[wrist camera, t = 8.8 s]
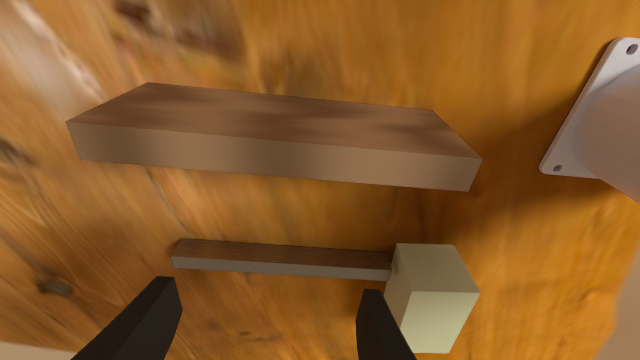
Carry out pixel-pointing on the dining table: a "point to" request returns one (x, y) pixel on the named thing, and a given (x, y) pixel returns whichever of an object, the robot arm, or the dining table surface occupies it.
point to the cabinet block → (430, 295)
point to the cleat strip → (281, 260)
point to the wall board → (275, 137)
